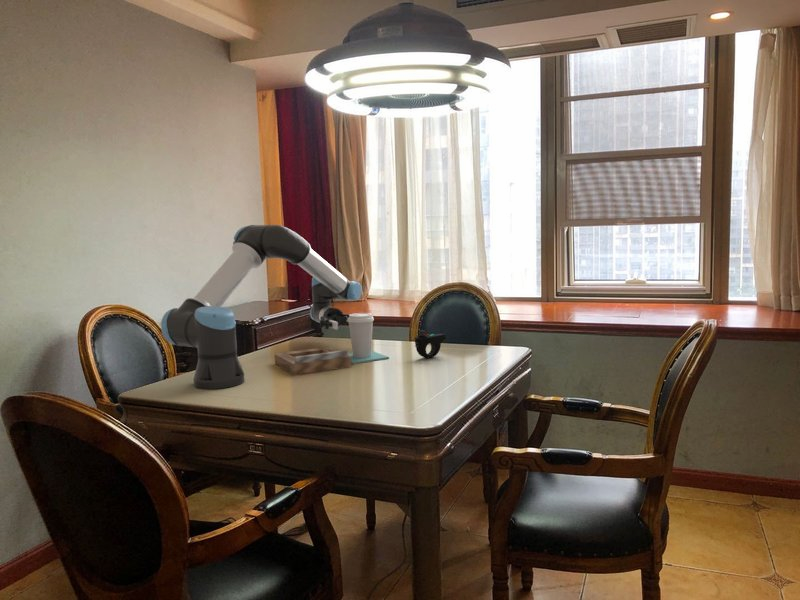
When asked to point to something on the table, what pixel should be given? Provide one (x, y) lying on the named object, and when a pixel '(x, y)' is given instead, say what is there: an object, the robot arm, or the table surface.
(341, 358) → the cup holder
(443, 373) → the table surface
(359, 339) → the coffee cup
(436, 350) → the controller
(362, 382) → the table surface
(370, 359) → the pad
